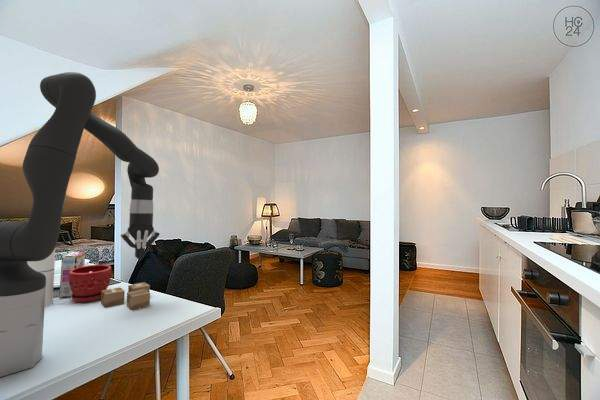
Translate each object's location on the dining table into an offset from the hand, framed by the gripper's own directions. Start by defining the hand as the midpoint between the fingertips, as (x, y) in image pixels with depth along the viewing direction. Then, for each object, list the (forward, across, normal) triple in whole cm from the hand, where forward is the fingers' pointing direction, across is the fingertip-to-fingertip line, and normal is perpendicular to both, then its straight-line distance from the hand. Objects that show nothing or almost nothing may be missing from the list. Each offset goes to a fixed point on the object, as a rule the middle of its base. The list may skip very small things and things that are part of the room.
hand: (139, 258), depth 98 cm
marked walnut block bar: (+18, -6, +9) cm, 21 cm away
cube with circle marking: (+18, +3, +10) cm, 21 cm away
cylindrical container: (+18, -25, +25) cm, 40 cm away
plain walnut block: (+18, 0, 0) cm, 18 cm away
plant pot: (+18, -11, +21) cm, 30 cm away
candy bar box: (+18, -15, +33) cm, 40 cm away
